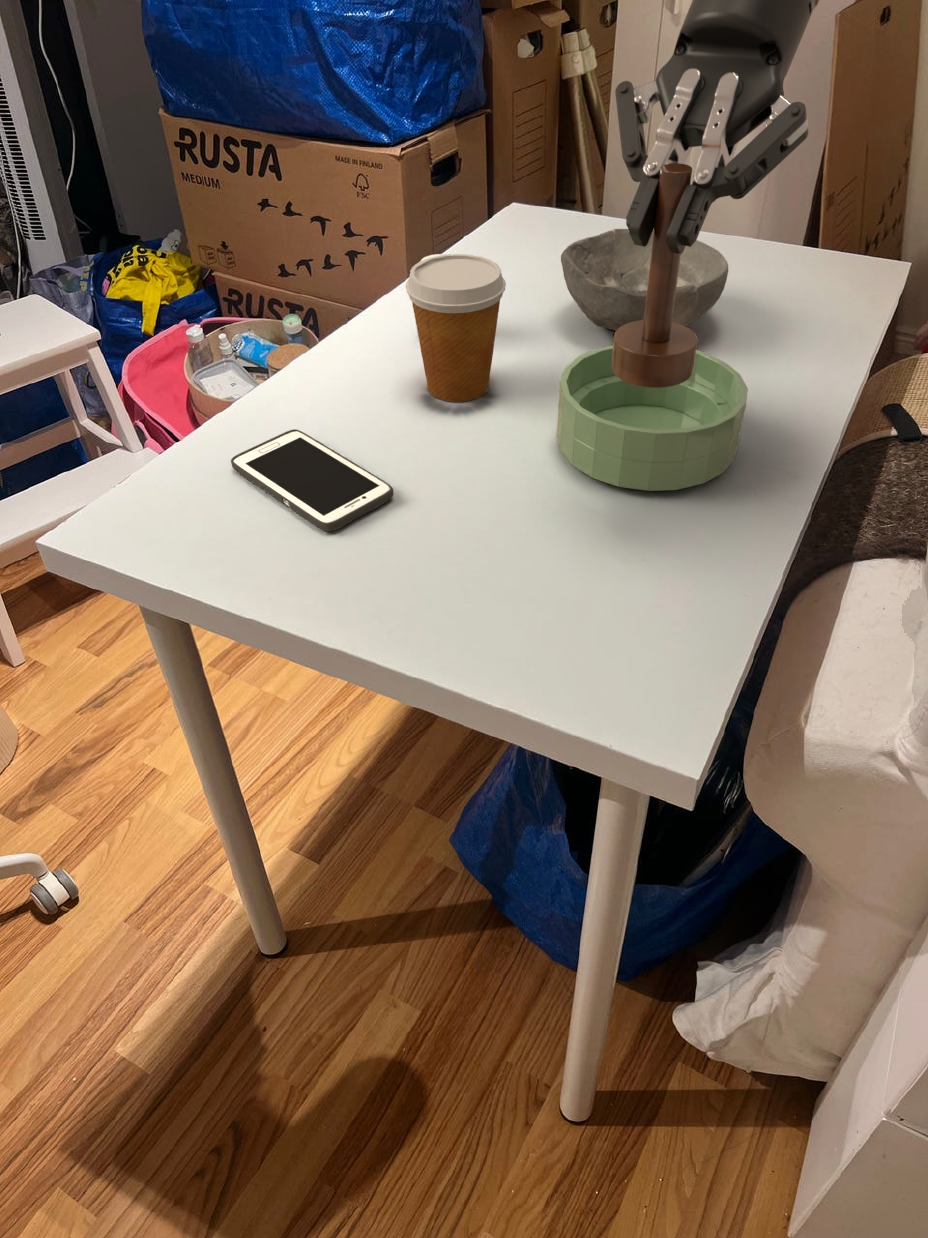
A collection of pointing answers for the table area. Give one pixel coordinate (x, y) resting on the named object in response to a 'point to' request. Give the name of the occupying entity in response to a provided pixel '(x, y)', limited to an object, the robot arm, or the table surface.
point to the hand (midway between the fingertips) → (655, 242)
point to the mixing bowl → (650, 423)
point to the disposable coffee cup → (456, 322)
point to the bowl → (637, 279)
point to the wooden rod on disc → (659, 305)
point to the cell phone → (312, 479)
